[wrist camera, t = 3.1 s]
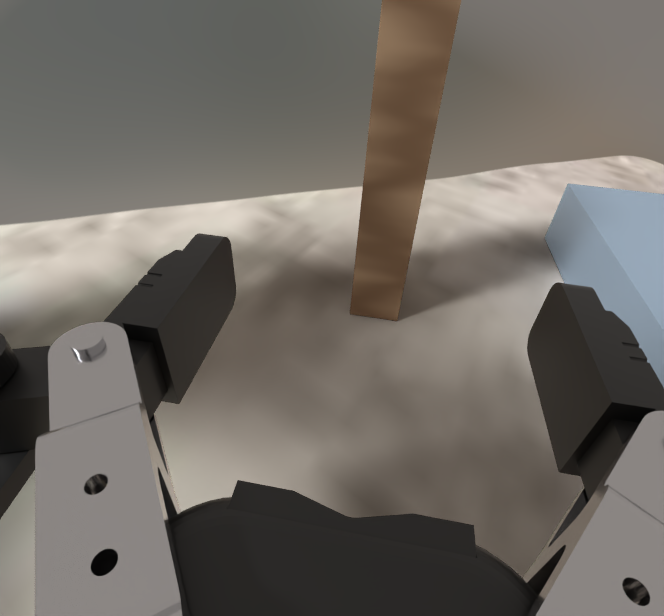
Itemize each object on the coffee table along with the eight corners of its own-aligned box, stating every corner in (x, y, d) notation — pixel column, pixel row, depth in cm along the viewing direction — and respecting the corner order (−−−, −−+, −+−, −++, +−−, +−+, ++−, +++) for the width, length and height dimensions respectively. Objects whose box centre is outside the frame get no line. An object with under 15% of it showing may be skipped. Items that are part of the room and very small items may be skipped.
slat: (349, 314, 22) (384, -21, 13) (359, 267, 26) (392, -25, 17) (397, 321, 22) (464, -16, 13) (400, 272, 26) (455, -20, 17)
